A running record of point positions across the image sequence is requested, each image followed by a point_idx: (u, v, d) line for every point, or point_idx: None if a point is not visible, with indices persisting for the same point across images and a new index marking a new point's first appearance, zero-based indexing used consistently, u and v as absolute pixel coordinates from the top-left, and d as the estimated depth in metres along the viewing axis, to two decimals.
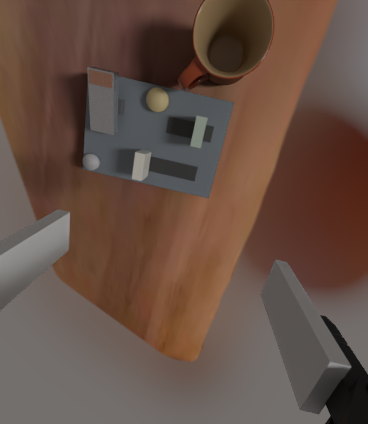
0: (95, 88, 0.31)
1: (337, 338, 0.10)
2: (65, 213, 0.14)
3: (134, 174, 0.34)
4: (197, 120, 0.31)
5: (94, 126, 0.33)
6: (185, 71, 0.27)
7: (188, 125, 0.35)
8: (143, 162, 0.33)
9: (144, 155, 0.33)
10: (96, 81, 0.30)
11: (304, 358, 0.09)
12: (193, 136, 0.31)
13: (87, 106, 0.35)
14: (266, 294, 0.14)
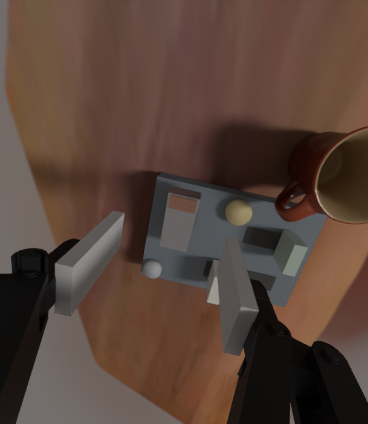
0: (174, 211, 0.26)
1: (263, 295, 0.11)
2: (121, 214, 0.15)
3: (210, 298, 0.29)
4: (295, 249, 0.26)
5: (164, 243, 0.29)
6: (296, 210, 0.22)
7: (270, 236, 0.30)
8: None
9: None
10: (177, 205, 0.25)
11: (230, 310, 0.11)
12: (287, 264, 0.26)
13: (152, 213, 0.31)
14: (219, 268, 0.16)
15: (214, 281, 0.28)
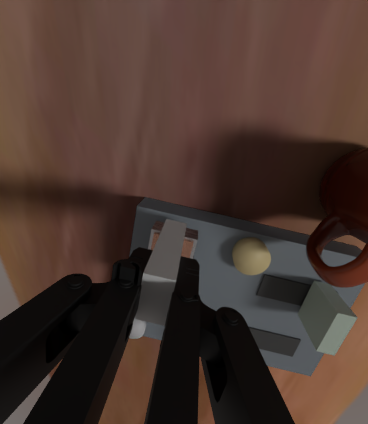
0: None
1: (193, 271, 0.12)
2: (175, 222, 0.16)
3: None
4: (337, 319, 0.17)
5: None
6: (349, 273, 0.14)
7: (295, 288, 0.22)
8: None
9: None
10: None
11: None
12: (325, 339, 0.18)
13: None
14: None
15: None
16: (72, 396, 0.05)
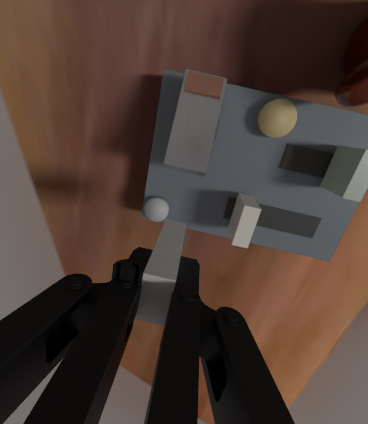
0: (191, 98, 0.19)
1: (193, 271, 0.12)
2: (175, 222, 0.16)
3: (237, 238, 0.21)
4: (365, 157, 0.18)
5: (172, 157, 0.18)
6: None
7: (318, 157, 0.22)
8: (255, 221, 0.20)
9: (259, 210, 0.20)
10: (196, 88, 0.19)
11: None
12: (351, 183, 0.18)
13: (157, 127, 0.23)
14: None
15: (243, 212, 0.20)
16: (72, 396, 0.05)
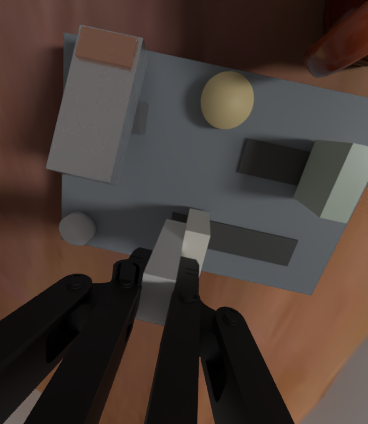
0: (88, 68, 0.12)
1: (193, 271, 0.12)
2: (175, 222, 0.16)
3: None
4: (352, 156, 0.11)
5: (59, 158, 0.12)
6: None
7: (289, 157, 0.16)
8: (203, 252, 0.14)
9: (207, 237, 0.14)
10: (95, 53, 0.12)
11: None
12: (333, 195, 0.12)
13: None
14: None
15: (185, 240, 0.14)
16: (72, 396, 0.05)
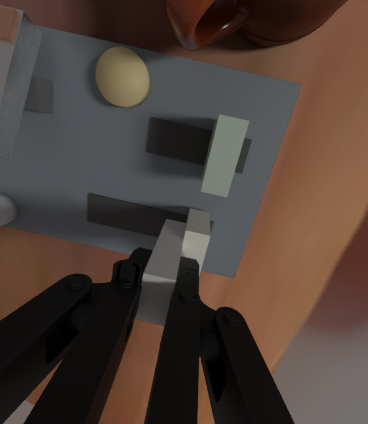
0: None
1: (193, 271, 0.12)
2: (175, 222, 0.16)
3: None
4: (221, 127, 0.11)
5: None
6: None
7: (194, 136, 0.16)
8: (203, 252, 0.14)
9: (207, 238, 0.14)
10: None
11: None
12: (209, 168, 0.12)
13: None
14: None
15: (185, 240, 0.14)
16: (72, 397, 0.05)
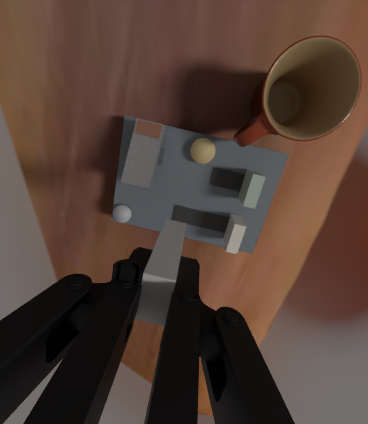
0: (140, 137, 0.28)
1: (193, 271, 0.12)
2: (175, 222, 0.16)
3: (230, 247, 0.30)
4: (253, 179, 0.27)
5: (126, 177, 0.27)
6: (248, 130, 0.23)
7: (235, 177, 0.31)
8: (242, 234, 0.29)
9: (244, 227, 0.29)
10: (143, 131, 0.28)
11: None
12: (247, 196, 0.27)
13: (121, 154, 0.31)
14: None
15: (234, 229, 0.29)
16: (72, 396, 0.05)
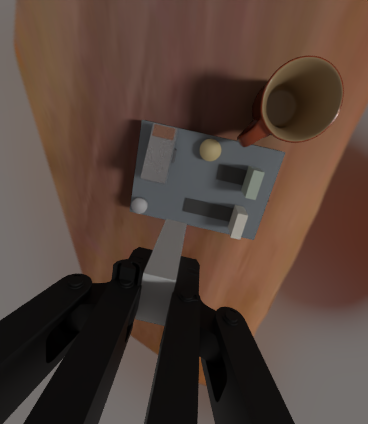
0: (156, 139, 0.32)
1: (193, 271, 0.12)
2: (175, 222, 0.16)
3: (234, 233, 0.34)
4: (254, 174, 0.31)
5: (145, 174, 0.32)
6: (249, 133, 0.28)
7: (238, 173, 0.36)
8: (244, 222, 0.34)
9: (246, 216, 0.33)
10: (159, 134, 0.32)
11: None
12: (249, 189, 0.32)
13: (138, 153, 0.36)
14: None
15: (237, 217, 0.34)
16: (72, 396, 0.05)
